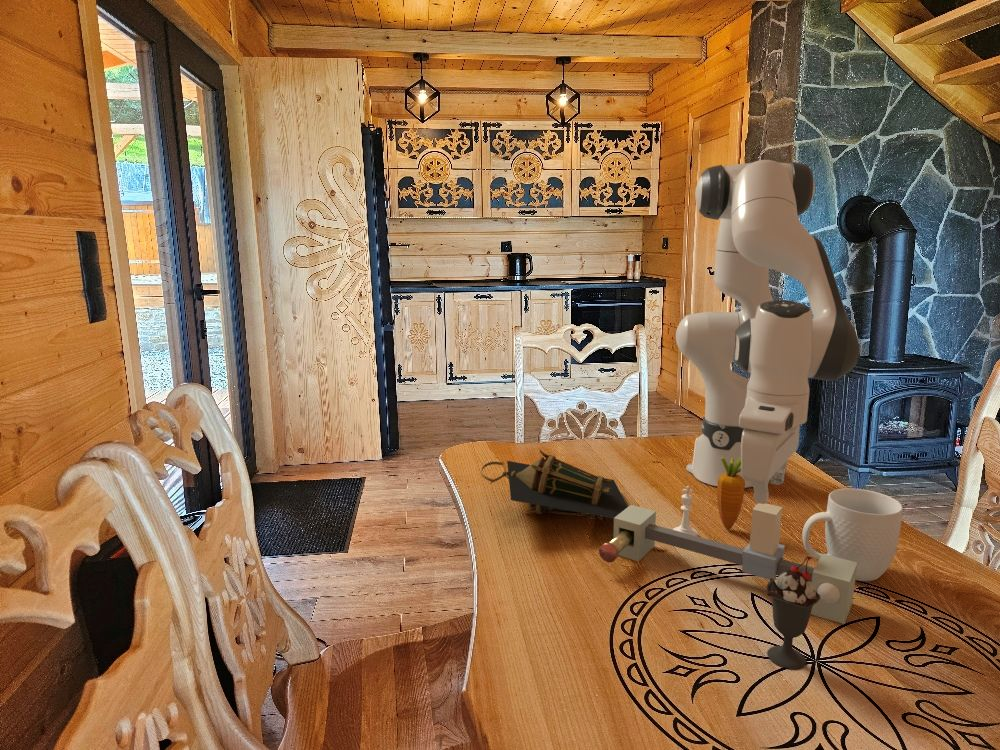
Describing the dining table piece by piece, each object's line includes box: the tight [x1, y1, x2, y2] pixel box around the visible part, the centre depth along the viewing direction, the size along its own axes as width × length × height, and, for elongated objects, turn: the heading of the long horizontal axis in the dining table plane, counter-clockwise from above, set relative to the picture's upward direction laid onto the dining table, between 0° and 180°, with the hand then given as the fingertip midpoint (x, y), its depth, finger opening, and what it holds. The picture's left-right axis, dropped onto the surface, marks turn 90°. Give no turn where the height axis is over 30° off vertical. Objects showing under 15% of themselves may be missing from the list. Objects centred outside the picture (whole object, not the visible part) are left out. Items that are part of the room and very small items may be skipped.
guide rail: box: [612, 504, 857, 625], centre depth 111 cm, size 8×38×7 cm, turn 54°
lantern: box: [480, 448, 629, 521], centre depth 136 cm, size 14×23×30 cm
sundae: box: [765, 555, 820, 670], centre depth 90 cm, size 7×7×15 cm
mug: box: [801, 487, 903, 582], centre depth 112 cm, size 15×11×13 cm
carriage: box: [741, 502, 786, 581], centre depth 107 cm, size 6×5×11 cm
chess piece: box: [672, 485, 699, 537], centre depth 126 cm, size 5×5×10 cm
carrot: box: [716, 457, 746, 531], centre depth 128 cm, size 5×5×15 cm
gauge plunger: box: [598, 529, 634, 563], centre depth 116 cm, size 10×3×3 cm, turn 144°
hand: (769, 492), depth 105 cm, fingers open, 8 cm apart
